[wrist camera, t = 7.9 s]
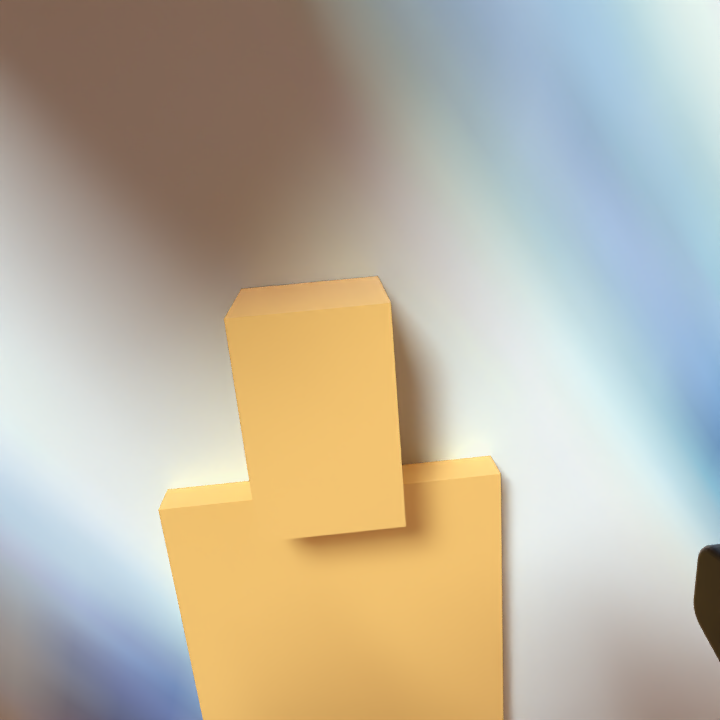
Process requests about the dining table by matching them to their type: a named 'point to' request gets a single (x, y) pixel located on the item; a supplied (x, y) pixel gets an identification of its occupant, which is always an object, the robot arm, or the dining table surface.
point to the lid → (335, 533)
